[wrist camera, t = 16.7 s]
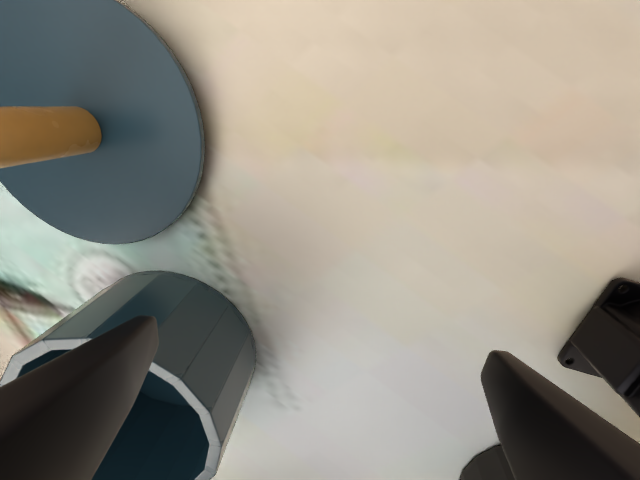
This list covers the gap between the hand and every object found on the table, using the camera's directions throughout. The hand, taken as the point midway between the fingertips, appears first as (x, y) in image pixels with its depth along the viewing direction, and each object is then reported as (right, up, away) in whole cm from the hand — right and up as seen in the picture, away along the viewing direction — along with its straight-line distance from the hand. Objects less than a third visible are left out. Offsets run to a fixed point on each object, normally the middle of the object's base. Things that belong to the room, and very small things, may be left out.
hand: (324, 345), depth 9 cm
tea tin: (-11, -5, +15) cm, 19 cm away
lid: (-13, +9, +9) cm, 18 cm away
